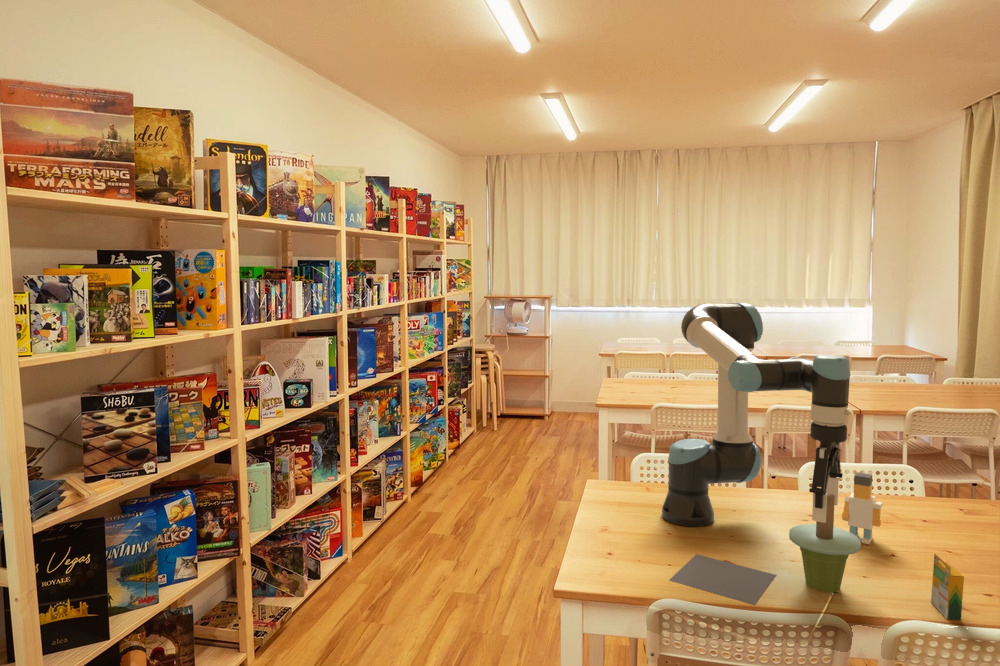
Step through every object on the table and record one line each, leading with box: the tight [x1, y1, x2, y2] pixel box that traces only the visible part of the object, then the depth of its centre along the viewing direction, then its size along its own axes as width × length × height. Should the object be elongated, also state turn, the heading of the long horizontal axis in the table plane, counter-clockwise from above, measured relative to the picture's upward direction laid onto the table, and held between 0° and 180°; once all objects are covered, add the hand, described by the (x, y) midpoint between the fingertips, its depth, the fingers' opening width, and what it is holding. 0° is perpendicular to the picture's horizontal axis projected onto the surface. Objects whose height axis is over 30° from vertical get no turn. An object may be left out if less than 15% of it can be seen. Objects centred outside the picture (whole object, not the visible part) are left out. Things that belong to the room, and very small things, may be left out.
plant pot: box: [799, 546, 850, 595], centre depth 155 cm, size 12×12×11 cm
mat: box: [669, 553, 777, 606], centre depth 159 cm, size 20×18×1 cm
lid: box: [788, 493, 862, 556], centre depth 154 cm, size 15×15×11 cm
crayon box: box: [930, 553, 965, 621], centre depth 143 cm, size 7×3×12 cm, turn 170°
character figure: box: [841, 471, 883, 545], centre depth 183 cm, size 8×10×18 cm
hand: (825, 512), depth 154 cm, fingers open, 13 cm apart
